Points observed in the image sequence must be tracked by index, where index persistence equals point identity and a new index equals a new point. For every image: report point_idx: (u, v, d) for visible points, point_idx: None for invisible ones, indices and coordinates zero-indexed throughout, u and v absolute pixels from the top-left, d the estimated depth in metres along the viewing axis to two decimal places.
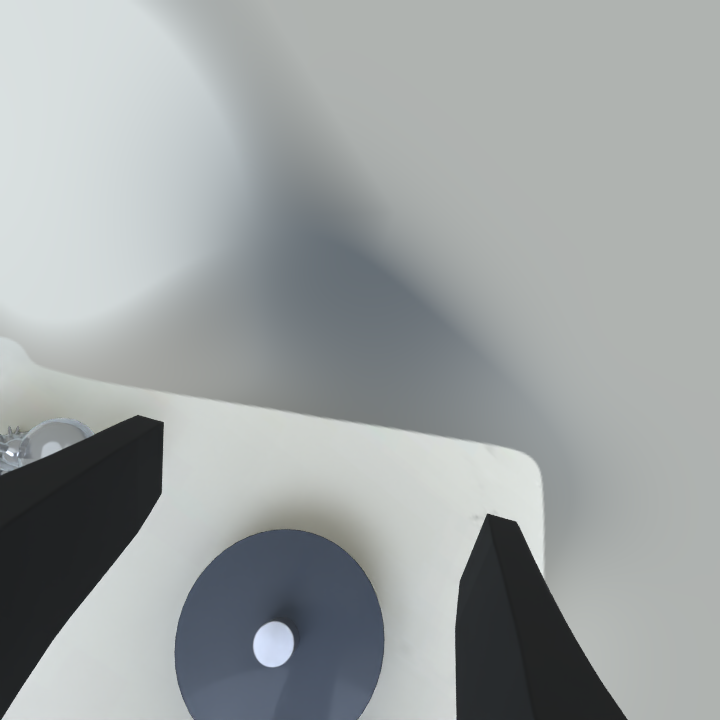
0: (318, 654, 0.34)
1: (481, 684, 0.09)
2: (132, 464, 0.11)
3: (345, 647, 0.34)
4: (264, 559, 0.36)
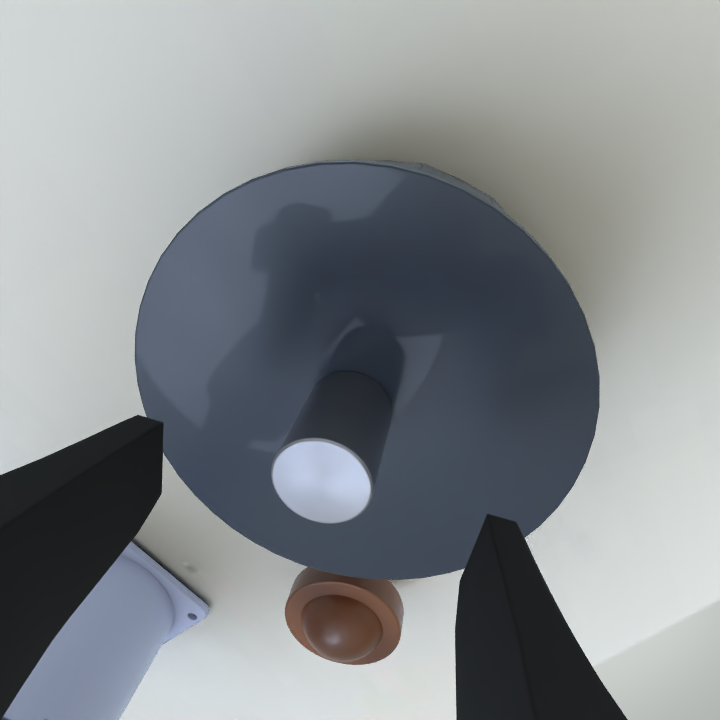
0: (405, 473, 0.16)
1: (481, 684, 0.09)
2: (132, 464, 0.11)
3: (460, 494, 0.16)
4: (399, 246, 0.13)
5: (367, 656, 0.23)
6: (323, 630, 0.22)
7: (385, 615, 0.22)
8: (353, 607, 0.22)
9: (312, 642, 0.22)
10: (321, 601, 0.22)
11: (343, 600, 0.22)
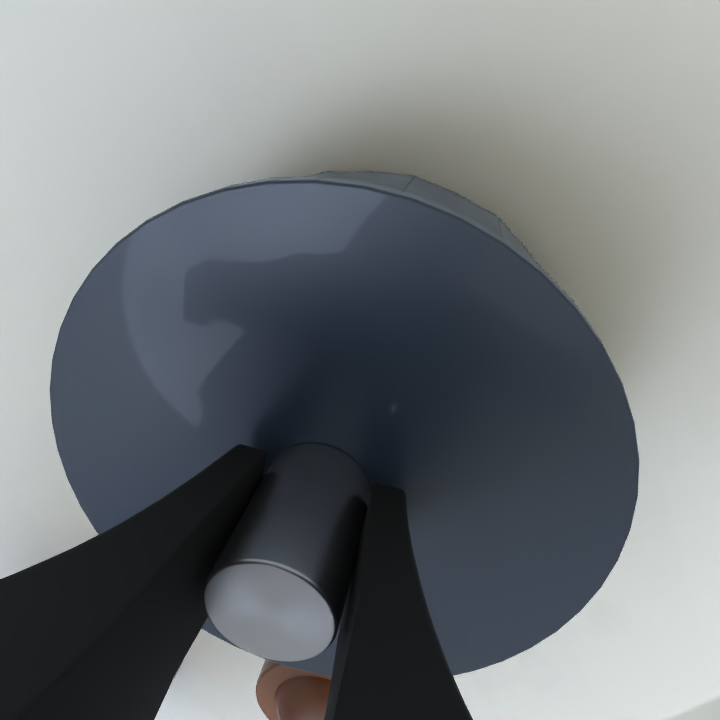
0: None
1: (343, 641, 0.09)
2: (243, 496, 0.10)
3: (457, 591, 0.13)
4: (377, 290, 0.10)
5: None
6: (298, 719, 0.18)
7: None
8: None
9: None
10: (296, 683, 0.19)
11: (322, 683, 0.19)
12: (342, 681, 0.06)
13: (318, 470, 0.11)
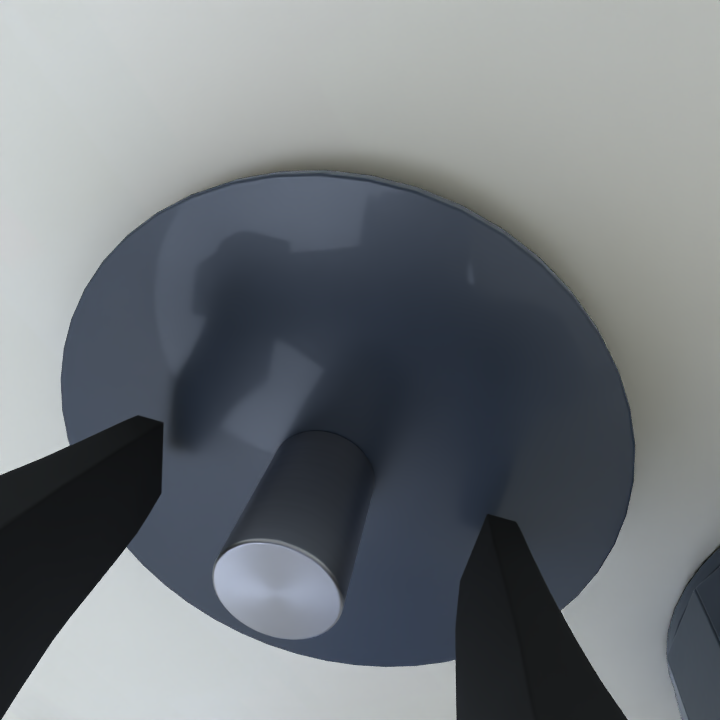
0: (391, 550, 0.13)
1: (481, 684, 0.09)
2: (132, 464, 0.11)
3: (458, 576, 0.13)
4: (381, 281, 0.10)
5: None
6: None
7: None
8: None
9: None
10: None
11: None
12: None
13: (323, 456, 0.11)
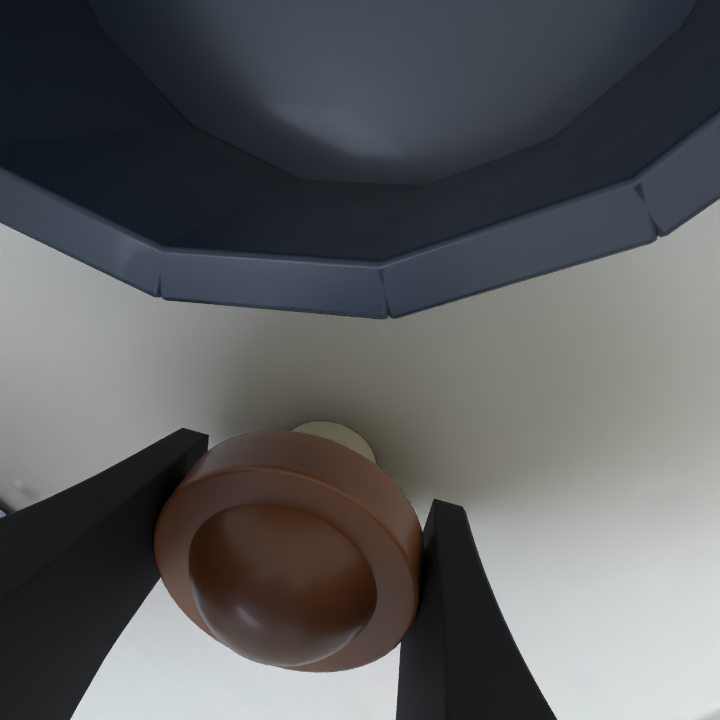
0: None
1: (415, 664, 0.09)
2: (181, 478, 0.10)
3: None
4: None
5: (342, 654, 0.10)
6: (228, 589, 0.09)
7: (383, 554, 0.09)
8: (303, 532, 0.09)
9: (206, 619, 0.09)
10: (227, 520, 0.09)
11: (279, 516, 0.09)
12: (446, 714, 0.06)
13: None
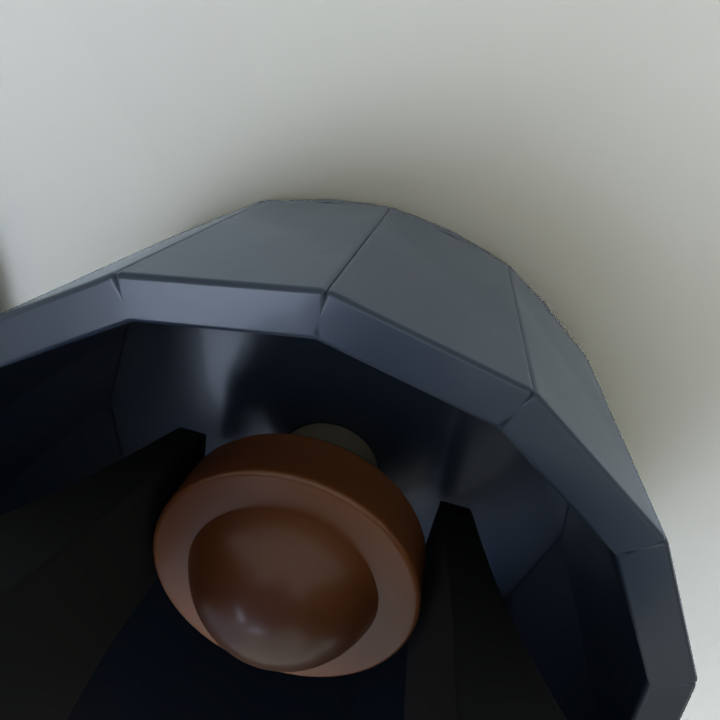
0: None
1: (424, 666, 0.09)
2: (178, 477, 0.11)
3: None
4: None
5: (343, 658, 0.10)
6: (228, 594, 0.09)
7: (384, 558, 0.09)
8: (304, 537, 0.09)
9: (206, 625, 0.09)
10: (227, 524, 0.09)
11: (280, 520, 0.09)
12: (458, 718, 0.06)
13: None
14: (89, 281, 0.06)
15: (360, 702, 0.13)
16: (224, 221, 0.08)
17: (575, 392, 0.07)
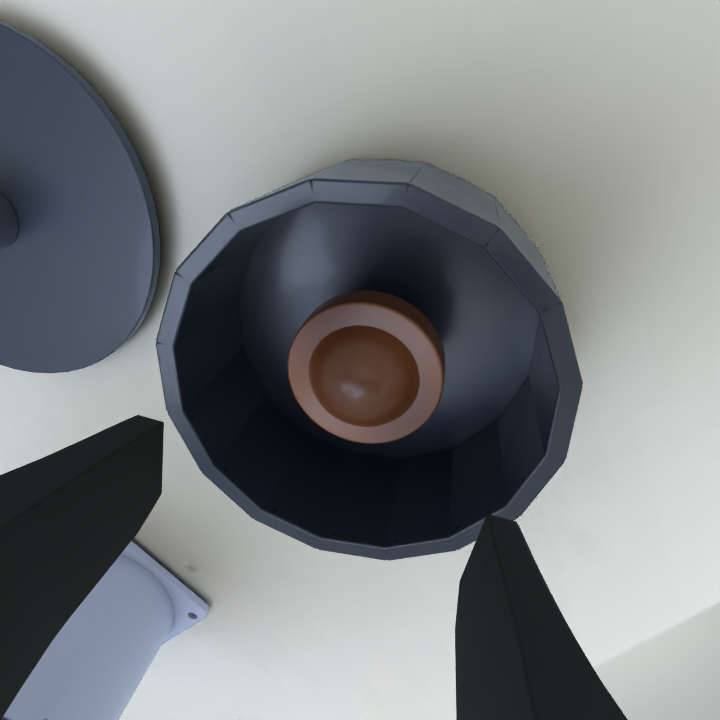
0: (42, 271, 0.21)
1: (481, 684, 0.09)
2: (132, 464, 0.11)
3: (83, 287, 0.21)
4: None
5: (397, 426, 0.17)
6: (340, 368, 0.16)
7: (424, 353, 0.16)
8: (381, 338, 0.16)
9: (324, 392, 0.16)
10: (337, 335, 0.16)
11: (367, 330, 0.16)
12: None
13: None
14: (297, 183, 0.13)
15: (400, 489, 0.20)
16: (339, 165, 0.16)
17: (524, 247, 0.15)
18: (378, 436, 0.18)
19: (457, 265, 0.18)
